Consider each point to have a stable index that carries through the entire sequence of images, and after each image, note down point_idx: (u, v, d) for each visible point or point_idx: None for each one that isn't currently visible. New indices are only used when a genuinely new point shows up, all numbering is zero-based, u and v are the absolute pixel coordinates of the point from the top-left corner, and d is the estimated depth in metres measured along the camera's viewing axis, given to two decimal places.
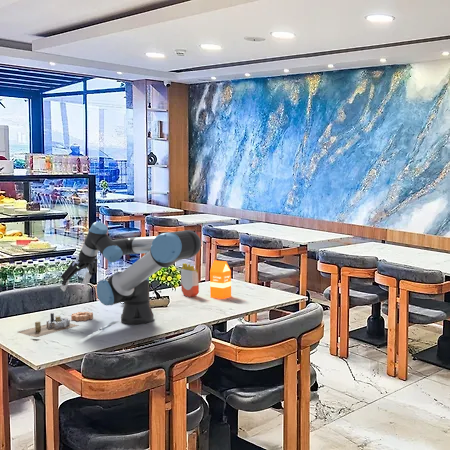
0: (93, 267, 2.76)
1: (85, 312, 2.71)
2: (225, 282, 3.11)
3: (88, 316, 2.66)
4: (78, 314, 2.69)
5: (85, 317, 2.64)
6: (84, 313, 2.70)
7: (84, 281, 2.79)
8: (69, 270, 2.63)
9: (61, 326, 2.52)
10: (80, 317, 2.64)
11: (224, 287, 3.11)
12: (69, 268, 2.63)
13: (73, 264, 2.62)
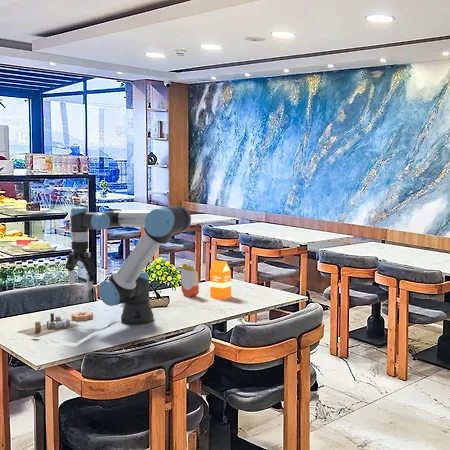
0: None
1: (85, 312, 2.71)
2: (225, 282, 3.11)
3: (88, 316, 2.66)
4: (78, 314, 2.69)
5: (85, 317, 2.64)
6: (84, 313, 2.70)
7: (71, 282, 2.71)
8: (91, 262, 2.61)
9: (61, 326, 2.52)
10: (80, 317, 2.64)
11: (224, 287, 3.11)
12: (90, 260, 2.61)
13: (89, 254, 2.61)
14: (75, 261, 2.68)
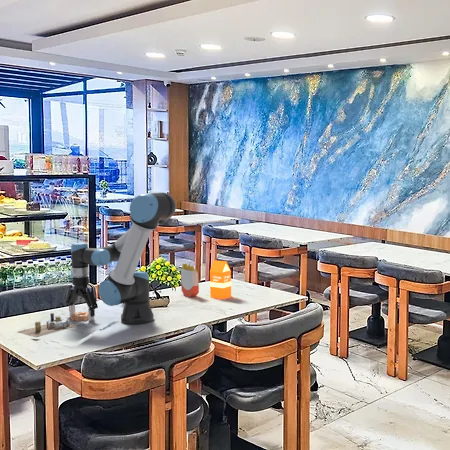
0: None
1: (85, 312, 2.71)
2: (225, 282, 3.11)
3: None
4: (78, 314, 2.69)
5: (85, 317, 2.64)
6: (84, 313, 2.70)
7: None
8: (92, 297, 2.63)
9: (61, 326, 2.52)
10: (80, 317, 2.64)
11: (224, 287, 3.11)
12: (91, 296, 2.62)
13: (90, 290, 2.63)
14: (76, 296, 2.69)
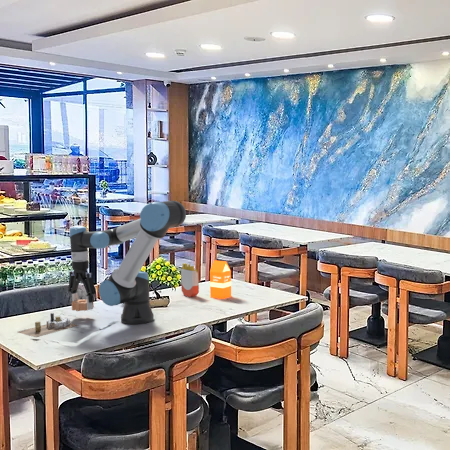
0: (72, 284, 2.71)
1: (85, 299, 2.70)
2: (225, 282, 3.11)
3: None
4: (78, 301, 2.68)
5: (85, 304, 2.63)
6: (84, 300, 2.69)
7: None
8: (91, 282, 2.62)
9: (61, 326, 2.52)
10: (80, 304, 2.63)
11: (224, 287, 3.11)
12: (90, 281, 2.62)
13: (90, 275, 2.62)
14: (77, 282, 2.68)
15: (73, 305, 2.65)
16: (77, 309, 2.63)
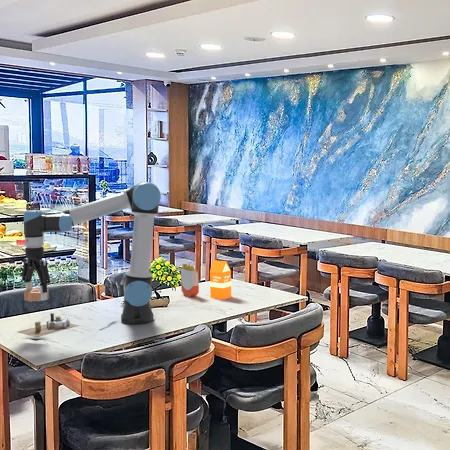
0: (26, 272, 2.49)
1: None
2: (225, 282, 3.11)
3: None
4: (32, 291, 2.46)
5: (39, 294, 2.42)
6: (39, 290, 2.48)
7: None
8: (45, 271, 2.41)
9: (61, 326, 2.52)
10: (33, 294, 2.42)
11: (224, 287, 3.11)
12: (44, 270, 2.40)
13: (44, 263, 2.41)
14: (31, 270, 2.46)
15: (26, 295, 2.43)
16: (30, 299, 2.41)
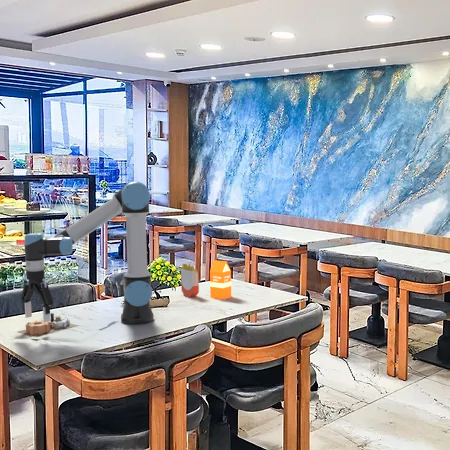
0: (26, 293, 2.50)
1: (42, 321, 2.50)
2: (225, 282, 3.11)
3: (44, 326, 2.45)
4: (34, 323, 2.48)
5: (40, 327, 2.43)
6: (40, 322, 2.49)
7: (28, 314, 2.50)
8: (47, 293, 2.41)
9: (61, 326, 2.52)
10: (35, 327, 2.43)
11: (224, 287, 3.11)
12: (46, 291, 2.41)
13: (45, 285, 2.41)
14: (31, 292, 2.48)
15: (27, 328, 2.44)
16: (31, 332, 2.42)
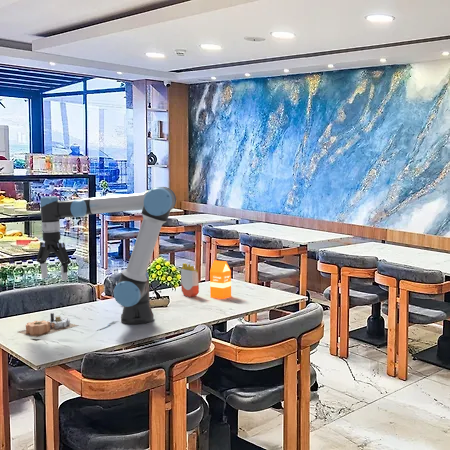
0: None
1: (42, 321, 2.50)
2: (225, 282, 3.11)
3: (44, 326, 2.45)
4: (34, 323, 2.48)
5: (40, 327, 2.43)
6: (40, 322, 2.49)
7: (44, 275, 2.59)
8: (64, 252, 2.50)
9: (61, 326, 2.52)
10: (35, 327, 2.43)
11: (224, 287, 3.11)
12: (63, 251, 2.50)
13: (62, 245, 2.51)
14: (47, 253, 2.57)
15: (27, 328, 2.44)
16: (31, 332, 2.42)
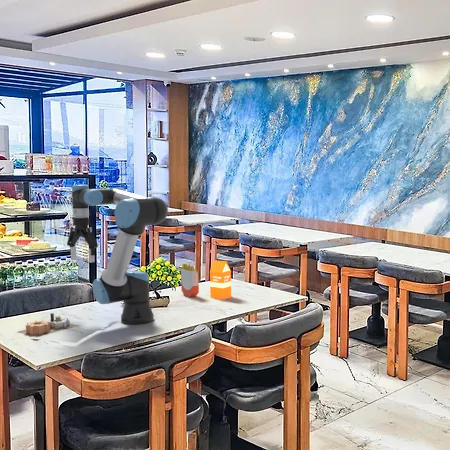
0: None
1: (42, 321, 2.50)
2: (225, 282, 3.11)
3: (44, 326, 2.45)
4: (34, 323, 2.48)
5: (40, 327, 2.43)
6: (40, 322, 2.49)
7: (73, 257, 2.81)
8: (92, 236, 2.71)
9: (61, 326, 2.52)
10: (35, 327, 2.43)
11: (224, 287, 3.11)
12: (91, 235, 2.71)
13: (91, 229, 2.72)
14: (76, 237, 2.78)
15: (27, 328, 2.44)
16: (31, 332, 2.42)
